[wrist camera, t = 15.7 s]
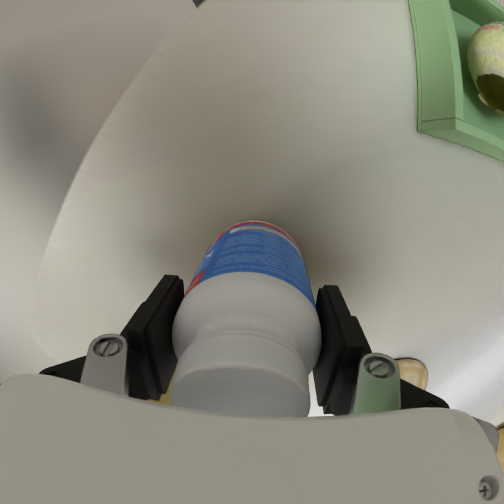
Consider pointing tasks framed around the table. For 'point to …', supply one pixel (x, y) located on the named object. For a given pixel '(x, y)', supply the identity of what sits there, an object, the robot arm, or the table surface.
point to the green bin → (454, 74)
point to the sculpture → (501, 447)
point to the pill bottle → (247, 327)
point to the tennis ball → (488, 64)
